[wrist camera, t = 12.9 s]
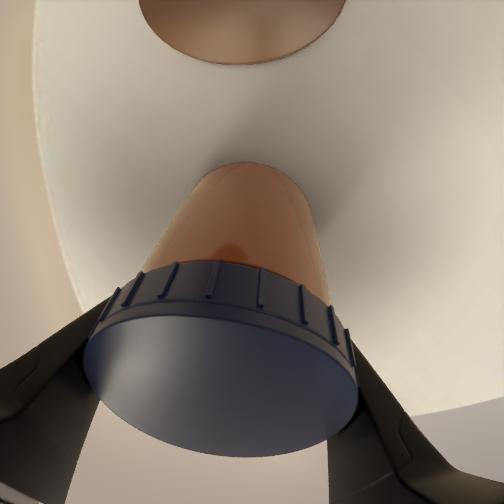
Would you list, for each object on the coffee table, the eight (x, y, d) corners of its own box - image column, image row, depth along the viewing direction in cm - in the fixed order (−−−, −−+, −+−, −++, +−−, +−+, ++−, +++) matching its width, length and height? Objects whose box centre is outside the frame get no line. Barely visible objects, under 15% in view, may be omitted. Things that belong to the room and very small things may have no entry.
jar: (160, 210, 15) (66, 351, 7) (262, 135, 13) (240, 243, 5) (235, 293, 18) (210, 446, 10) (334, 239, 15) (376, 404, 7)
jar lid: (211, 430, 11) (205, 465, 9) (66, 323, 8) (43, 362, 7) (383, 380, 8) (393, 424, 7) (253, 193, 5) (245, 239, 4)
